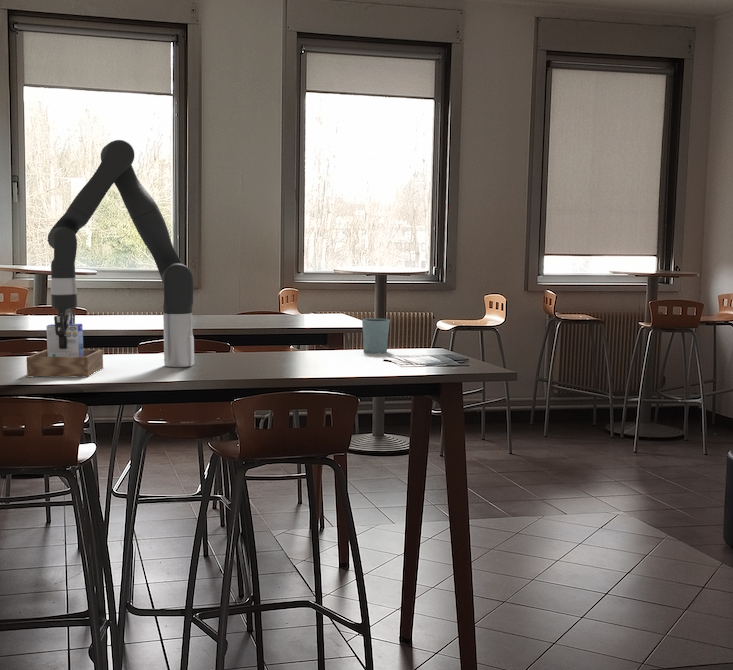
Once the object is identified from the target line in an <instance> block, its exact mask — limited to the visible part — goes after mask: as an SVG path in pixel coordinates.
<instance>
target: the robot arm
mask: <svg viewBox="0 0 733 670" xmlns="http://www.w3.org/2000/svg"><path fill="white" fill-rule="evenodd" d="M134 161H135V150H134V147H133V146H132V144H131V143H129V142H128V141H126V140H124V139H116V140H112V141H110V142H109V143H107V144H106V145H105V146H104V147H102V150H101V152H100V164H99V165H98V167H97V168H96V171H95V172H94V173H93V175H92V176H91V178H90V179H89V180H88V181H87V183H85V185H83V187H82V188H81V189H80V191H79V192H78V194H77V195H76V196H75V198H74V199H73V200H72V202H71V203H70V205H69V206H68V208H67V209H66V211H65V213H64V214H63V215H62V216H61V217H60V218H59V219H58V220H57V222H56V223H55V224H54V225H53V226H52V228H50V231H49V232H48V235H47V242H48V245H49V247H50V248H52V249H53V259H52V261H51V263H50V273H51V274H50V275H51V280H50V298H51V300H50V301H51V303H50V304H51V308H52V309H53V310H55V309H56V310H57V315H55V316H54V317H53V319H54V324H55V331H56V335H58V337H59V348H60V349H66V348H67V337H66V336H67V329H68V325H69V321H70V319H71V324H76V312H72V309H76V308H78V293H77V292H78V289H77V288H78V287H77V286H78V285H77V280H76V257H77V250H78V246H77V245H78V241H77V240H78V239H77V233H78V232H79V231H80V229H82V228H84V227H85V226H86V225H87V224H88V222H89V221H90V219H91V218H92V216H93V215H94V214H95V211H97V208H98V207H99V206H100V204H101V202H102V201H103V200H104V198H105V197H106V194H107V193H108V191H109V190H110V189H111V188H112V186H113V184H114V185H115V187H116V188H117V190H118V193H119V194H120V197H121V199H122V202H123V204H124V207H125V208H126V210H127V212H128V215H129V217H130V219H131V220H132V223H133V225H134V226H135V229H136V231H137V233H138V234H139V236H140V238H141V240H142V241H143V244H145V246H146V248H147V250H148V251H149V252H150V254H151V255H152V258H153V259H154V263H155V265H156V268H157V270H158V273H159V276H160V279H161V281H162V285H163V305H162V307H163V311H162V312H163V313H162V316H163V358H164V359H163V363H164V365H163V366H164V367H169V368H183V367H184V368H185V367H193V366H194V365H195V337H194V335H193V332H194V331H193V306H194V305H193V304H194V276H193V273H192V270H191V269H190V268H189V267H188V266H187V265H185V264H184V263H183V262H182V260H181V258H180V257H179V255H178V253H177V251H176V250H175V248H174V246H173V243H172V240H171V236H170V233H169V232H170V231H169V228H168V227H167V223H166V221H165V219H164V216H163V214H162V213H161V211H160V209H159V207H158V205H157V203H156V201H155V199H153V196H151V194H149V192H148V191H147V189H145V187H144V186H143V184H142V183H141V182H140V181H139V179H138V177H137V174H136V173H135V170H134V167H133V165H132V164H133V163H134ZM64 325H66V326H64ZM61 329H62V331H60V330H61Z"/></svg>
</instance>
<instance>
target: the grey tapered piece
mask: <svg viewBox="0 0 733 670" xmlns="http://www.w3.org/2000/svg"><path fill="white" fill-rule="evenodd" d="M361 322H362V339H363V340H362V341H363V342H362V344H363V353H365V354H385V353H388V341H389V333H390V332H389V330H390V324H391V323H390V322H391V321H390V319H387V318H380V317H379V318H373V317H371V318H368V317H367V318H363V319H362V321H361Z"/></svg>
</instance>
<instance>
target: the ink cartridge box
mask: <svg viewBox="0 0 733 670" xmlns="http://www.w3.org/2000/svg"><path fill="white" fill-rule="evenodd" d="M64 326H66V325H64ZM83 330H84V329H83V323H75V324H71V319H70V321H69V325H68V329H67V336H66V337H67V348H66V349H60V348H59V337H58V335H56V331H55V323H52V324H48V325H46V343H47V344H46V346H47V347H46V350H47V354H48V357H84V356H83V350H84V333H83ZM60 331H62V329H61V330H60Z"/></svg>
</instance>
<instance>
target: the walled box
mask: <svg viewBox="0 0 733 670" xmlns="http://www.w3.org/2000/svg"><path fill="white" fill-rule="evenodd" d="M103 352H104V351H103V349H83V356H84V357H48V354H47V349H44V350H42V351H39V352H37V353H34V354H31V355H29V356H27V357H26V377H27V376H89V375H91V374H93V373H94V372H96V371H98V370H99V371H101V370H102V368H103V369H104V358H103V357H104V355H103V354H104V353H103ZM100 369H101V370H100ZM99 371H98V372H99ZM96 373H97V372H96ZM94 374H95V373H94ZM94 374H93V375H94ZM91 376H92V375H91ZM89 377H90V376H89Z"/></svg>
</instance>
